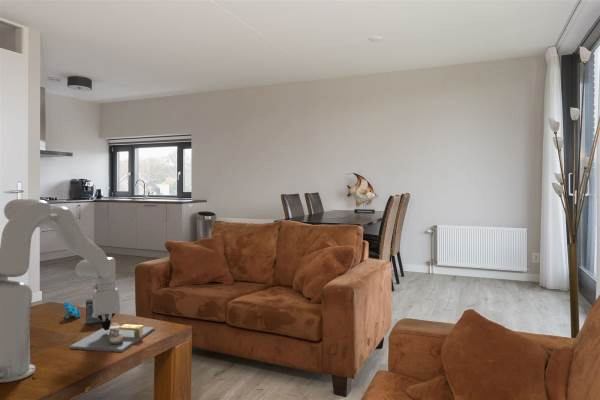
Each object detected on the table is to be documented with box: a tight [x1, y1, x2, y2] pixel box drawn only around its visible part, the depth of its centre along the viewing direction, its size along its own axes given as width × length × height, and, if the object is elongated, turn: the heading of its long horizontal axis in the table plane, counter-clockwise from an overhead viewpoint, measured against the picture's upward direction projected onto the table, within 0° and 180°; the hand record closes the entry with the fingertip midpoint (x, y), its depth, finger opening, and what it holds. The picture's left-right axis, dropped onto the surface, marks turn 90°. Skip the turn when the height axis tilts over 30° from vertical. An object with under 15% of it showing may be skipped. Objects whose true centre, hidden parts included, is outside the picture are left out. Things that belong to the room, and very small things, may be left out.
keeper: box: [119, 323, 145, 338], centre depth 178 cm, size 4×9×4 cm, turn 82°
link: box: [110, 322, 123, 344], centre depth 178 cm, size 20×5×5 cm, turn 26°
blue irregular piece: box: [62, 301, 82, 319], centre depth 206 cm, size 11×6×10 cm
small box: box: [85, 298, 112, 326], centre depth 200 cm, size 11×6×10 cm, turn 113°
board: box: [69, 324, 156, 353], centre depth 179 cm, size 26×22×1 cm
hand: (106, 329), depth 182 cm, fingers closed
